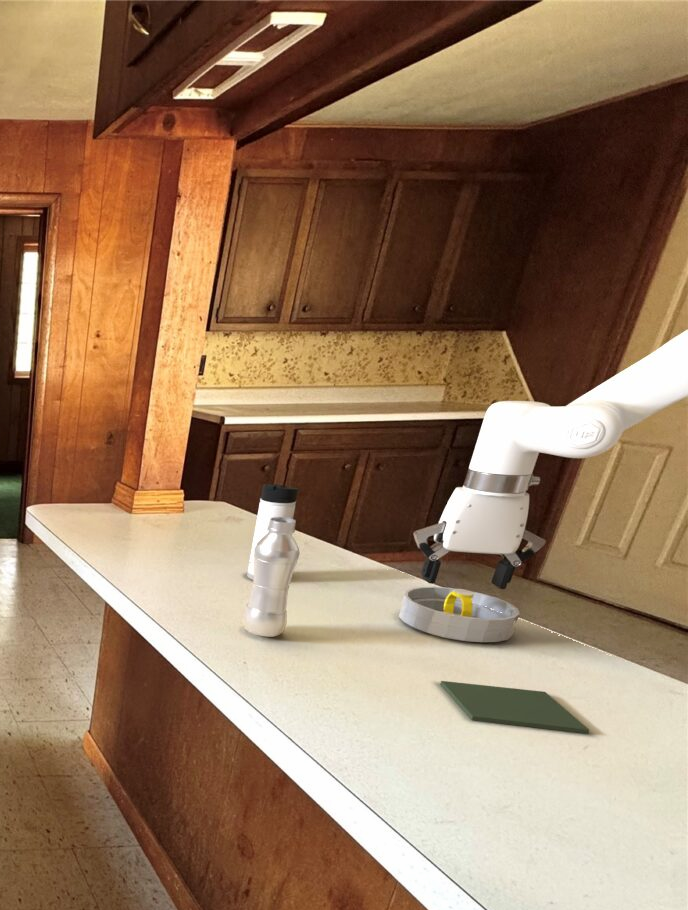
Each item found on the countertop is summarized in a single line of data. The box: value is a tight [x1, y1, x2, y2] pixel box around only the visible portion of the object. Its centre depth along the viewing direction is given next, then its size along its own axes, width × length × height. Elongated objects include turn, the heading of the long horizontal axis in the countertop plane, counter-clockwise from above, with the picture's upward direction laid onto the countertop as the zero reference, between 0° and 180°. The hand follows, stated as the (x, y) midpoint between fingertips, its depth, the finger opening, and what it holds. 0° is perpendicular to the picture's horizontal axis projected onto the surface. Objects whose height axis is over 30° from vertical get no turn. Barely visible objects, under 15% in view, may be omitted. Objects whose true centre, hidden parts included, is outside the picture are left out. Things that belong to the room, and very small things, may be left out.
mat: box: [439, 680, 590, 735], centre depth 89 cm, size 12×10×1 cm
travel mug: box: [246, 483, 299, 581], centre depth 134 cm, size 6×7×20 cm
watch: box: [443, 588, 474, 617], centre depth 112 cm, size 6×3×6 cm, turn 164°
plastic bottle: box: [242, 517, 300, 638], centre depth 110 cm, size 6×7×20 cm
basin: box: [398, 586, 520, 643], centre depth 113 cm, size 15×15×4 cm
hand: (462, 583), depth 111 cm, fingers open, 9 cm apart
